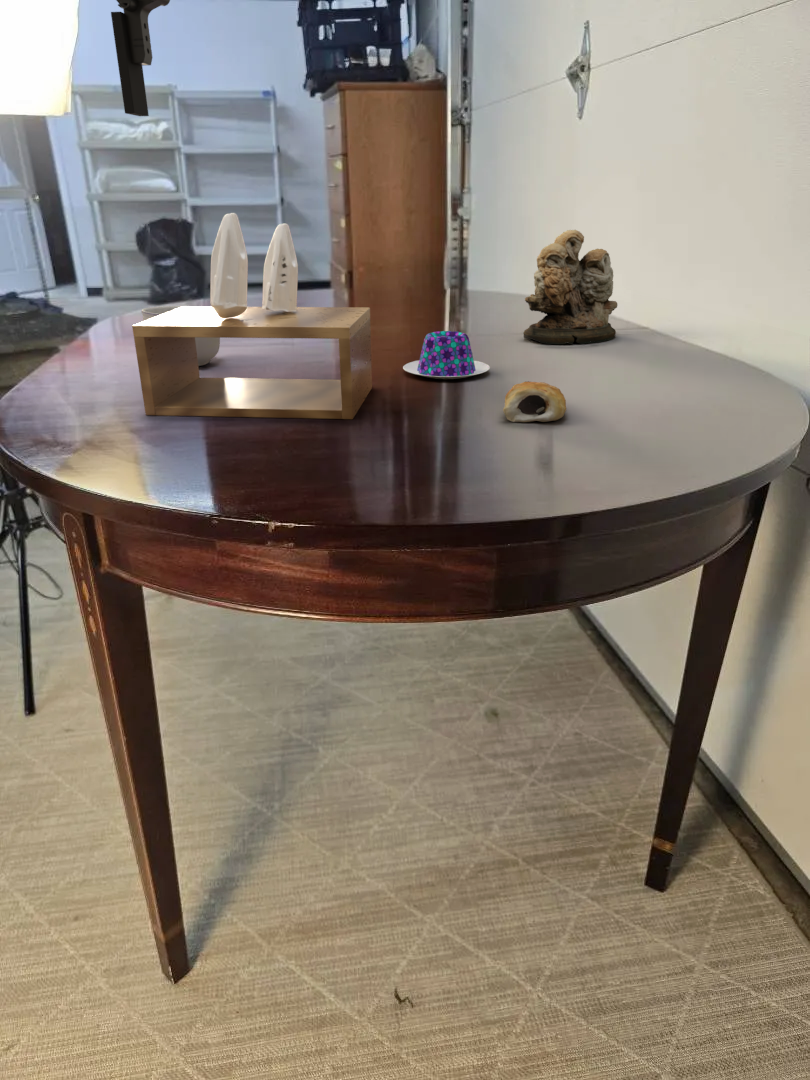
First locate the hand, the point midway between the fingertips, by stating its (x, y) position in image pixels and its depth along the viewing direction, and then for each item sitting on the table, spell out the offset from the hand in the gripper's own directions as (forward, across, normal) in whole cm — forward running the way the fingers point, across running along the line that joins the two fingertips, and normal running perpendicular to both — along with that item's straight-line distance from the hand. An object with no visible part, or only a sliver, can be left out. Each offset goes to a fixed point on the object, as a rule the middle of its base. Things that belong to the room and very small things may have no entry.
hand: (54, 117), depth 61 cm
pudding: (+29, +29, +41) cm, 58 cm away
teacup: (+29, -9, +43) cm, 53 cm away
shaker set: (+19, +8, +24) cm, 31 cm away
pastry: (+29, +40, +20) cm, 53 cm away
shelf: (+29, +8, +24) cm, 38 cm away
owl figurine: (+29, +48, +69) cm, 89 cm away
